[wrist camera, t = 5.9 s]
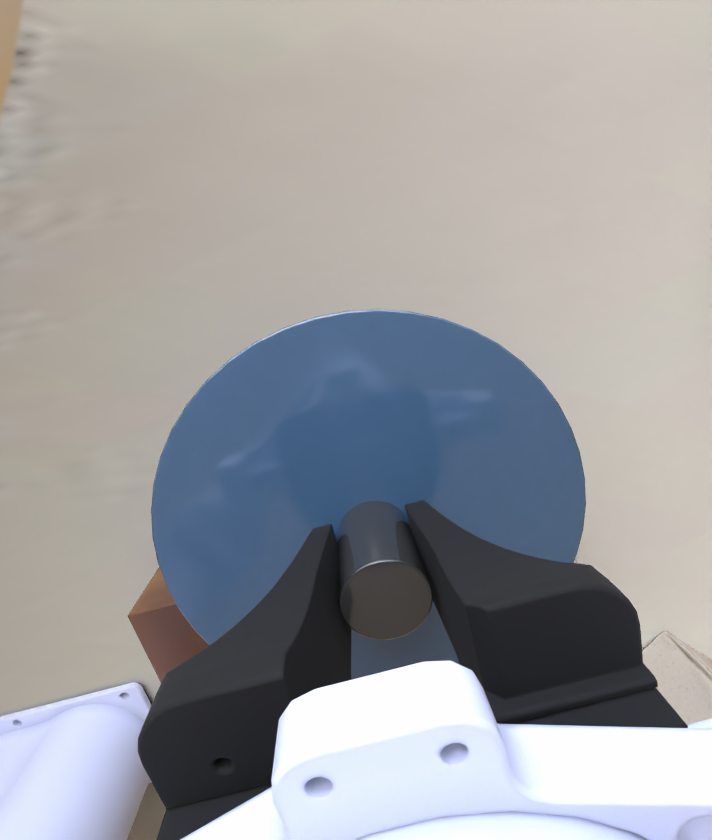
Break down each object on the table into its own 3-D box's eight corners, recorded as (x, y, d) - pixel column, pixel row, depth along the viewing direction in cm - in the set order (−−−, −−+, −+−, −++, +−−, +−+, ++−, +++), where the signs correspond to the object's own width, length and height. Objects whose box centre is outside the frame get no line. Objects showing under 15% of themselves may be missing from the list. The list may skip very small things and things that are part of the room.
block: (199, 598, 26) (161, 684, 20) (174, 541, 25) (126, 616, 19) (263, 581, 26) (243, 663, 20) (241, 524, 24) (214, 593, 19)
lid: (242, 714, 17) (212, 850, 13) (93, 375, 13) (-19, 411, 9) (587, 626, 17) (672, 736, 13) (541, 255, 13) (643, 234, 9)
